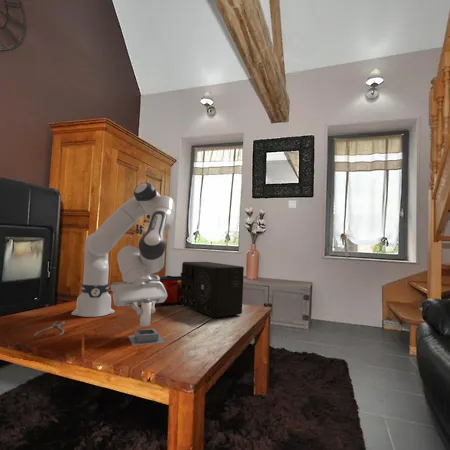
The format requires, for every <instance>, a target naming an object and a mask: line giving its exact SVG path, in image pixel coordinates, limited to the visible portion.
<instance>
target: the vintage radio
mask: <svg viewBox="0 0 450 450" xmlns="http://www.w3.org/2000/svg"><path fill="white" fill-rule="evenodd" d="M244 269H245V268H244V266H241V265H233V264H228V263H227V264H226V263H220V262H218V263H217V262H212V261H211V262H210V261H183V262H182V266H181V272H180V276H182V280H181V285H180V288H181V297H180V298H179V300H180V304H182V305H181V306H183V307H184V308H188V309H193V310H195V311H198V312H200V313H203V314H204V315H208V316H210V317H211V318H212V319H217V318H222V317H228V316H232V315H236V316H237V315H242V314H243V296H244V295H243V294H244V293H243V291H244V272H245V270H244Z"/></svg>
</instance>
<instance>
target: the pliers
mask: <svg viewBox="0 0 450 450" xmlns="http://www.w3.org/2000/svg"><path fill="white" fill-rule="evenodd" d="M65 323H66V322H65V320H64V321H62V322H60V323H58V320H57V321H55V322H54V323H52V325H50V327H47V328H44V329H40V330H38V331H36V332H35V333H34V334H33V337H36V336H37V335H38V334H39V333H42V332H45V331H48V330H52V329H54V328H57V330H59V331H60V332H61V333H59V334H58V335H59V336H62V335H63V334H64V333H65V330H64V329H63V326H64V325H65Z"/></svg>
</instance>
